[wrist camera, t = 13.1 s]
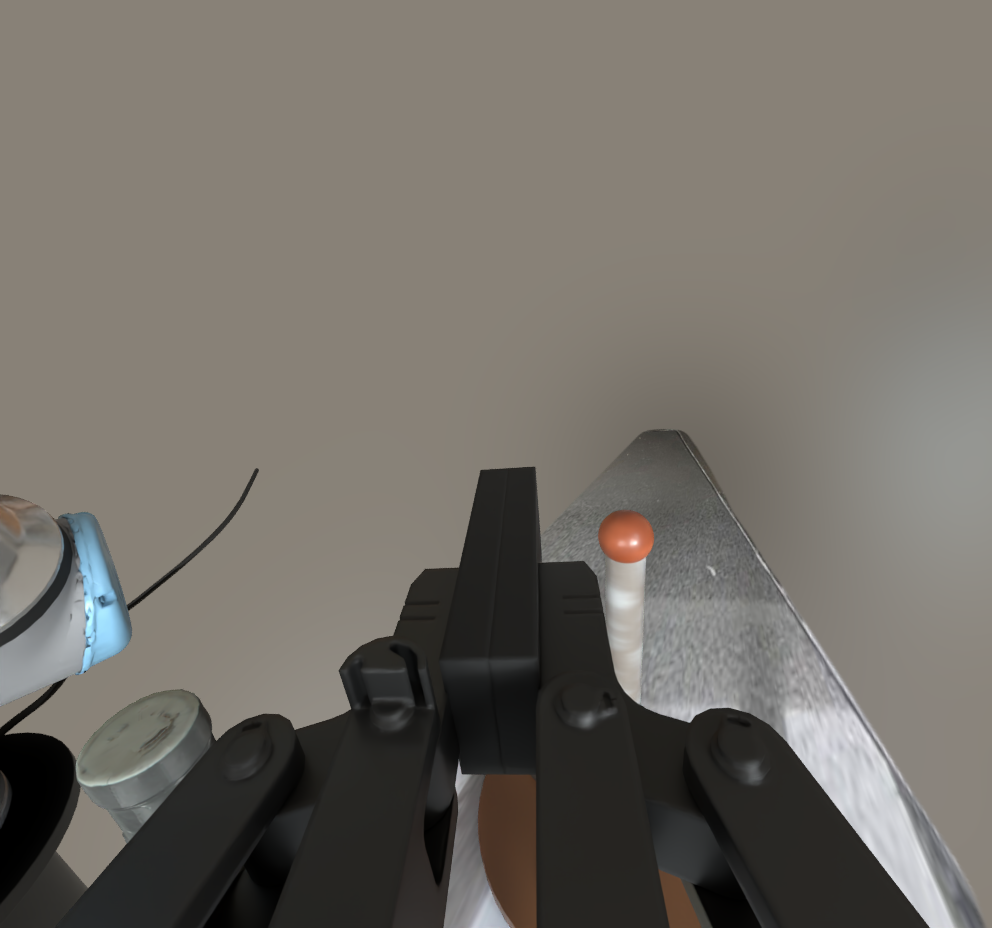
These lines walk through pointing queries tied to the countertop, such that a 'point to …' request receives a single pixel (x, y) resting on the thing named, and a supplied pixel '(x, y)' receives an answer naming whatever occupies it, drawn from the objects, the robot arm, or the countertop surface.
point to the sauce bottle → (144, 755)
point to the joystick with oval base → (514, 796)
